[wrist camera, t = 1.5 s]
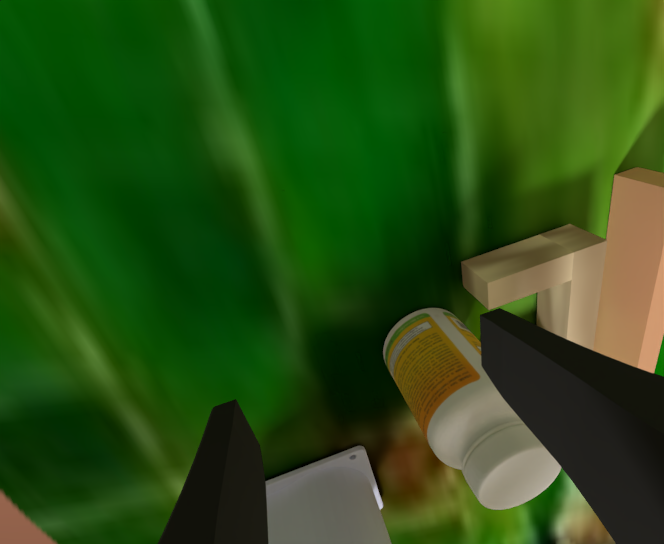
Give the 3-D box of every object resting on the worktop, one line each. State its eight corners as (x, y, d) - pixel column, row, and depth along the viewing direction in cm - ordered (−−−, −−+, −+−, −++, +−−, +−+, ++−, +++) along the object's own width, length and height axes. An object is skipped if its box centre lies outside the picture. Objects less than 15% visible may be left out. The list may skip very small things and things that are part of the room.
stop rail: (591, 352, 29) (633, 385, 26) (614, 174, 22) (675, 190, 19) (609, 345, 29) (652, 377, 26) (637, 166, 22) (701, 181, 19)
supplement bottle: (375, 377, 25) (449, 531, 17) (388, 306, 23) (482, 444, 14) (449, 370, 26) (552, 510, 18) (468, 303, 24) (598, 426, 16)
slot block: (471, 382, 27) (493, 411, 25) (461, 261, 22) (487, 283, 20) (560, 349, 28) (589, 373, 25) (569, 223, 23) (607, 240, 20)
